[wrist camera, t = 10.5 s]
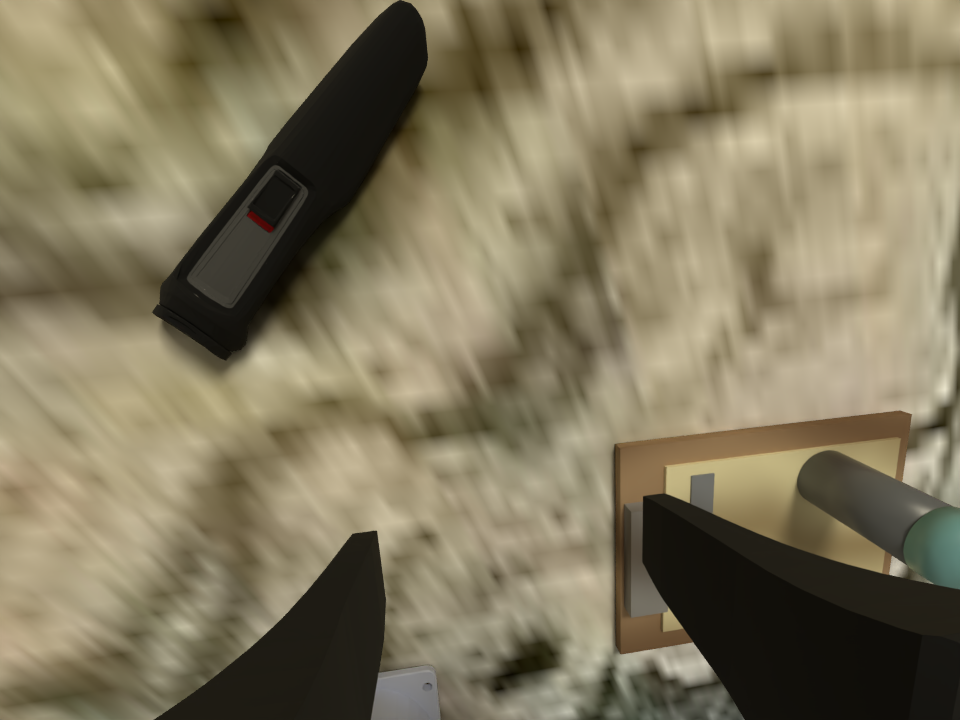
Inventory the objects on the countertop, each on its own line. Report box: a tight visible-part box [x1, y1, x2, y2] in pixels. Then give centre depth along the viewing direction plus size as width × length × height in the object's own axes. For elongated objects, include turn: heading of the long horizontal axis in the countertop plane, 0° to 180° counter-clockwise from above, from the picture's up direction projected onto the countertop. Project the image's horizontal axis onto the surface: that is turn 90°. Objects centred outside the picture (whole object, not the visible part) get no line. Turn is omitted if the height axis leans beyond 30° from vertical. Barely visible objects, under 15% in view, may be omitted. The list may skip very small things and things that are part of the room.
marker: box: [797, 450, 960, 589], centre depth 20 cm, size 3×3×7 cm
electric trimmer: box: [152, 0, 428, 360], centre depth 18 cm, size 4×15×3 cm, turn 141°
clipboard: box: [615, 411, 912, 654], centre depth 24 cm, size 12×16×1 cm
